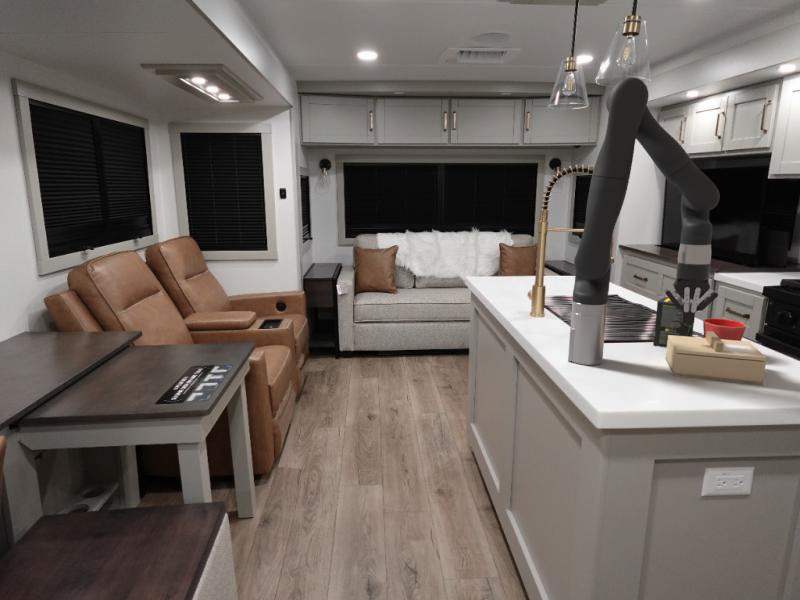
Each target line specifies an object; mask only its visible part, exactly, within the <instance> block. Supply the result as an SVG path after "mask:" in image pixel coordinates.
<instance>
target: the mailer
mask: <svg viewBox="0 0 800 600" xmlns="http://www.w3.org/2000/svg"><path fill="white" fill-rule="evenodd" d="M665 351H666V352H665V361H666V362H667V365H668V367H669V369H670V371H671V374H672V375H673V376H674V377H681V378H683V377H684V378H691V379H692V378H693V379H702V380H710V381H711V380H712V381H722V382H730V383H731V382H733V383H740V384H748V385H758V386H764V385H763V384H764V379H765V371H766V366H767V361H760V360H749V359H738V358H728V357H717V356H706V355H695V354H684V353H676V352H675V350H674V348H673V346H672V344H671V343H670V341H669V339H668V341H667V347H666V350H665Z"/></svg>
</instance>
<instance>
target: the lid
mask: <svg viewBox="0 0 800 600" xmlns="http://www.w3.org/2000/svg"><path fill="white" fill-rule="evenodd" d="M668 339H669V341H670V343H671V344H672V346H673V348H674V350H675V352H676V353H684V354H695V355H706V356H717V357H728V358H738V359H749V360H760V361H765V362H767V360H768V359H767V356H765V354H763V353H762V352H761V351H760V350H759V349H758V348H757V347H755V345H753V344H752V343H751V342H750V341H746V340H741V341H735V340H723V339H719V337H718V336H717V335H716V334H715V333H714V332H712V331H707V333H706V338H704V337H698V336H692V337H687V336H674V335H668Z"/></svg>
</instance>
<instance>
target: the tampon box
mask: <svg viewBox="0 0 800 600" xmlns="http://www.w3.org/2000/svg"><path fill="white" fill-rule="evenodd" d="M674 297H675V299H676V300H677V301H678V302H679V304H681V305H682V298H681V297H680V296H676V295H674ZM690 300H691V299H689V307H690ZM655 314H656V315H655V325H654V326H655V327H654V335H653V337H654V338H653V344H652V345H653V346H656V347H661V348H667V341H668V335H674V336H687V337H693V332H694V326H695V325H694V324H695V322H694V323H693V324H691V326H685V325H684V323H682V310H679V309H677V308H676V307H675V305H674V304H673V303H672V301H671V300H670V299H669V297H668V296H667V295H665V296H664V297H662V298H660V299H658V301H657V303H656V313H655Z"/></svg>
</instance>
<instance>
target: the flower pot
mask: <svg viewBox="0 0 800 600" xmlns="http://www.w3.org/2000/svg"><path fill="white" fill-rule="evenodd" d="M702 324H703V327H702V328H703V338H706V333H707V331H712V332H714V333H715V334H716V335H717V336H718V337H719V339H723V340H735V341H742V339H743V336H744V334H745V331H746V328H747V325H746V324H745V323H743V322H741V321H738V320H737V321H736V320H732V319H725V318H715V317H714V318H705V319H703V321H702Z"/></svg>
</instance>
